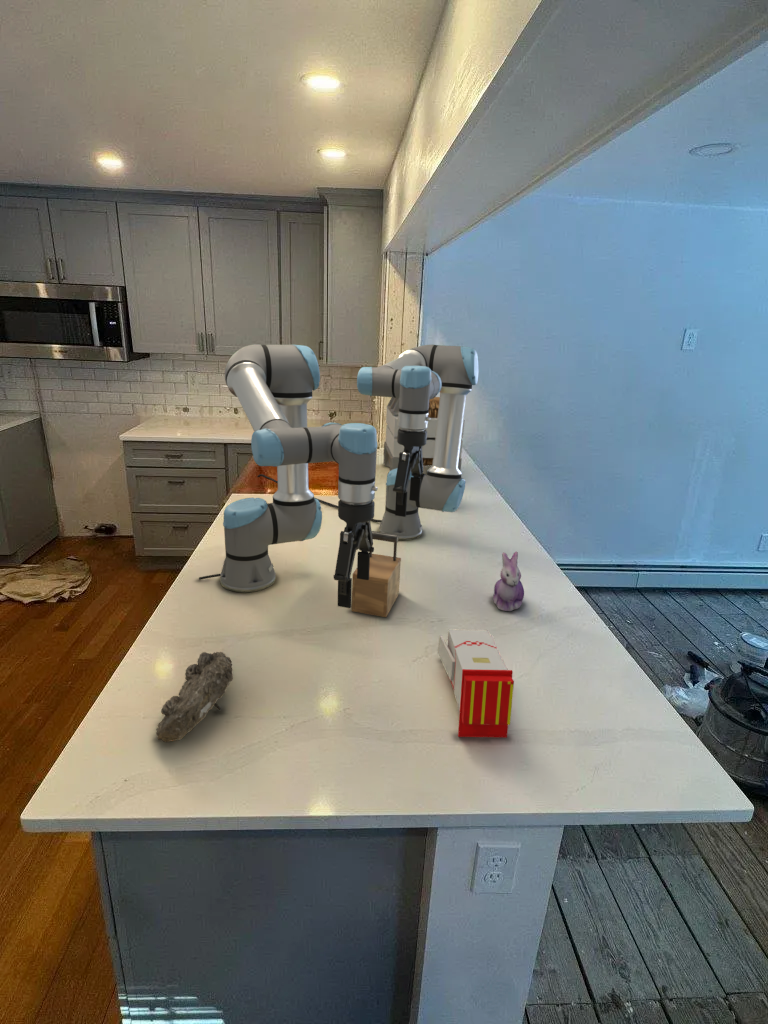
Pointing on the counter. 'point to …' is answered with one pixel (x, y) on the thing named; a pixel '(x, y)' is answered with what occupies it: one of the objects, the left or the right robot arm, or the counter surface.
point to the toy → (478, 682)
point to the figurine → (509, 585)
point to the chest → (375, 595)
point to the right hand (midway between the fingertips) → (407, 507)
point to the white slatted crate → (394, 448)
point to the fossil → (195, 695)
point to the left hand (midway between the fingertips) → (354, 592)
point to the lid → (382, 560)
